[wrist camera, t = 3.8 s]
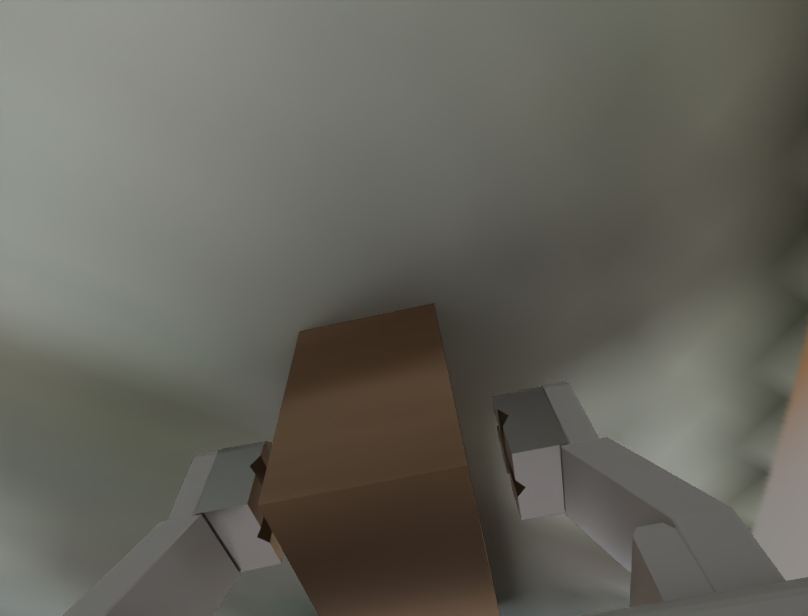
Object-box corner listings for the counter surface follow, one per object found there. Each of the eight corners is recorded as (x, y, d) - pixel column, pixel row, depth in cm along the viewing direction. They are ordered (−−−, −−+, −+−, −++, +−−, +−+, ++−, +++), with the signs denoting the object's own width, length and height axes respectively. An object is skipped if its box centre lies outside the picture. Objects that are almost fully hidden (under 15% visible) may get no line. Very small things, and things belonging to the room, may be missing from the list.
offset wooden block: (299, 331, 11) (257, 505, 7) (433, 303, 11) (467, 465, 7) (410, 619, 17) (421, 798, 13) (497, 604, 17) (535, 781, 13)
